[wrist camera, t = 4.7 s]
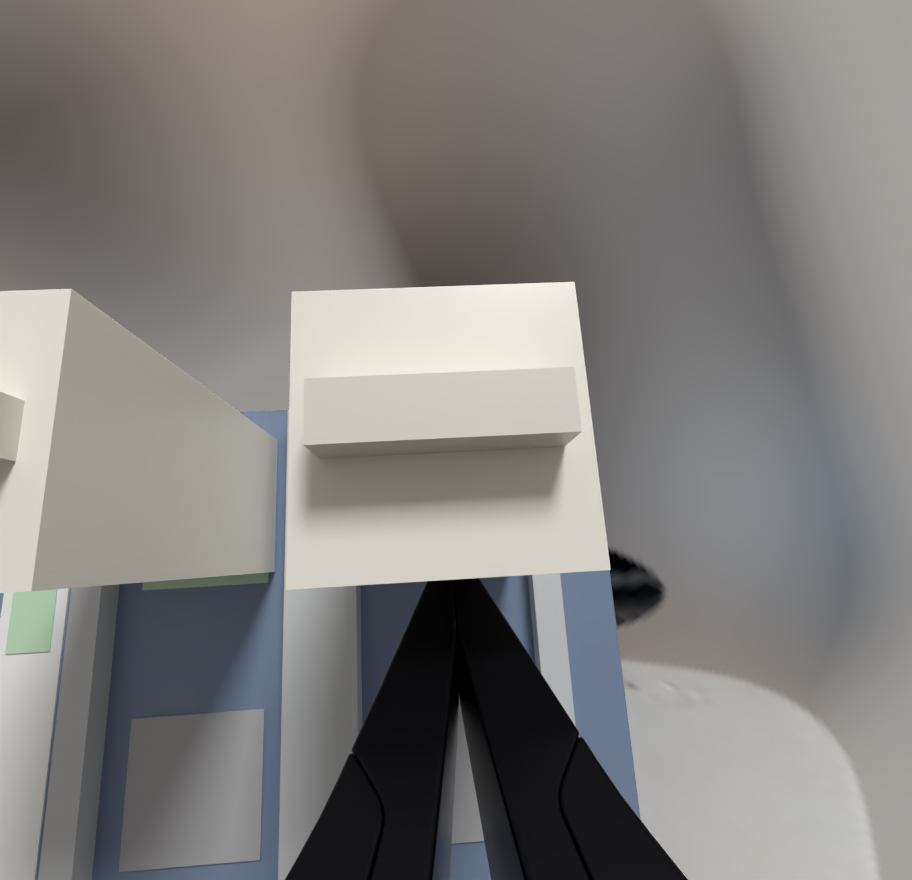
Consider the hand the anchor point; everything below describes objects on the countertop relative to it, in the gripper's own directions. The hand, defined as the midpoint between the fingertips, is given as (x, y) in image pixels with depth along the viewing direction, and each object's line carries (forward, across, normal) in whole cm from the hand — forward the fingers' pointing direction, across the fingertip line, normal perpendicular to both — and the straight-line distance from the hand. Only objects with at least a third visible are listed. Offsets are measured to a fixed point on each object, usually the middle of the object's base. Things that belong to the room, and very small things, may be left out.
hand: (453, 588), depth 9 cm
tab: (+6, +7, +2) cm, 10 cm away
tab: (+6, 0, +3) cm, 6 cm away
